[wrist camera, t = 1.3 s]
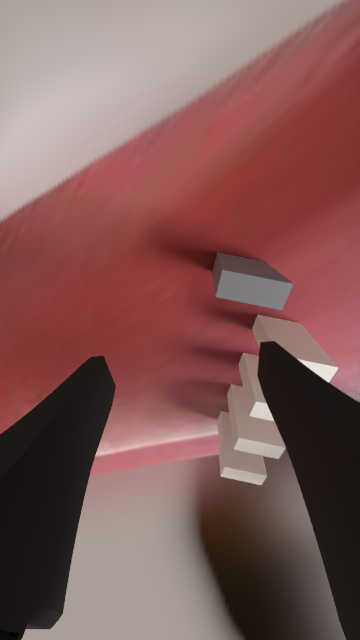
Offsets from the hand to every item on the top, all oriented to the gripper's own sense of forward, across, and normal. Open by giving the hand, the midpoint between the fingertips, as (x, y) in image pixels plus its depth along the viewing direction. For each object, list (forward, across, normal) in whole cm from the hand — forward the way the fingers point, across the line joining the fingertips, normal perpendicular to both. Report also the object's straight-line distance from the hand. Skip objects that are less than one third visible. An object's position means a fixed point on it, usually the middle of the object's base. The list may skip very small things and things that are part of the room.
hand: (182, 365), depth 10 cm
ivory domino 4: (+11, -9, +6) cm, 16 cm away
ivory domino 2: (+10, -6, +15) cm, 20 cm away
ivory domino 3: (+10, -5, +20) cm, 23 cm away
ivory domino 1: (+11, -8, +11) cm, 17 cm away
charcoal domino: (+12, -5, 0) cm, 13 cm away
